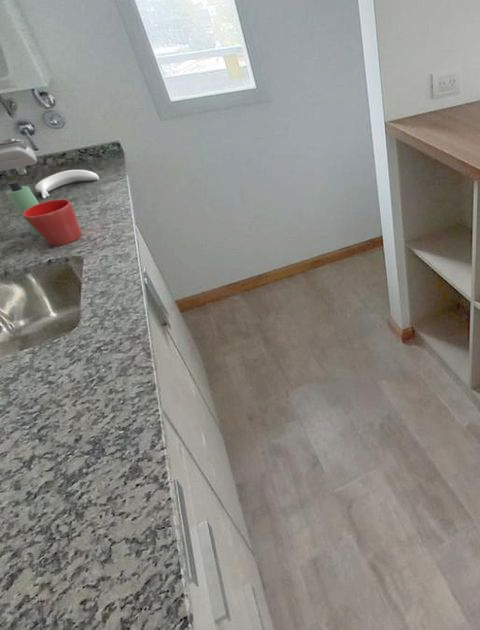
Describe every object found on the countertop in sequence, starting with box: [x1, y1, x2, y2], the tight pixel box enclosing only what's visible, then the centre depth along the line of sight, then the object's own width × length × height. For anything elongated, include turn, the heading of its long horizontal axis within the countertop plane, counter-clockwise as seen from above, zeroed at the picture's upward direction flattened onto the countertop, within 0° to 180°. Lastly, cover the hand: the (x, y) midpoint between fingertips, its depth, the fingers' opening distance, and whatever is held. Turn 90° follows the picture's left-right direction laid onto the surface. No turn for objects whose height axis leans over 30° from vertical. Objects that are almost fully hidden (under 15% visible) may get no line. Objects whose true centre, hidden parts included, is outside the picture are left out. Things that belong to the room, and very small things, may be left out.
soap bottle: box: [5, 180, 42, 237], centre depth 125 cm, size 5×5×15 cm
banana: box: [34, 169, 100, 199], centre depth 158 cm, size 5×19×15 cm
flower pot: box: [23, 199, 83, 247], centre depth 121 cm, size 11×11×10 cm
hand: (1, 176), depth 117 cm, fingers open, 8 cm apart
